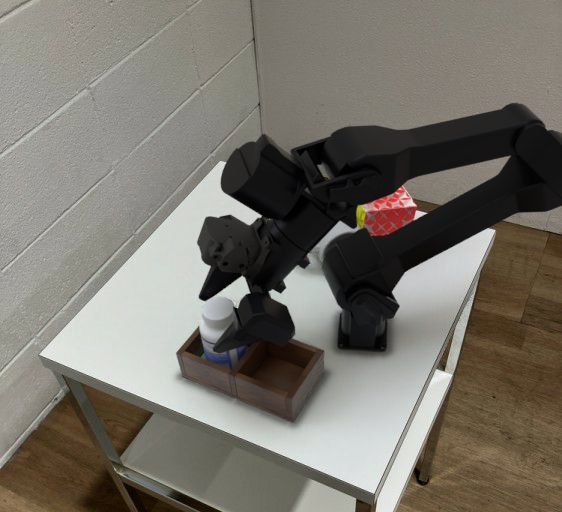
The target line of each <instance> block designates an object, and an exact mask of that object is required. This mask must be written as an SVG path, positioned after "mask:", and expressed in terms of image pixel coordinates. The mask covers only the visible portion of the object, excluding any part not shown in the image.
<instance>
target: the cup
mask: <svg viewBox="0 0 562 512" xmlns="http://www.w3.org/2000/svg"><path fill="white" fill-rule="evenodd" d="M359 229H361V228H360V227H359V225H358V223H357V227H356V228H355V229H352V228H350V227H349V226H347V225H346V224H344V223H343V222H341V221H339V222H338V223H337V224H336V225H335V226H334V227H333V228H332V230H331V231H330V232H329V233H328V234H327V235H326V236H325V237H324V238H323V239H322V240H321V241H320V242H319V243H318V244H317V245H316V246H315V247H314V248H313V249H312V250H311V252H310V253H309V254H313V255H316V254H317V256H318V258H319V260H320V262H321V264H322V263H323V260H324V258H325V254H326V253H327V252H328V251H329V250H330V249H331V248H333V247H334V246H336V243H335V241H337V240H342V239H345V238H347V237H349V236H350V235H352V234H353V233H355V232H356V231H357V230H359Z"/></svg>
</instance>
